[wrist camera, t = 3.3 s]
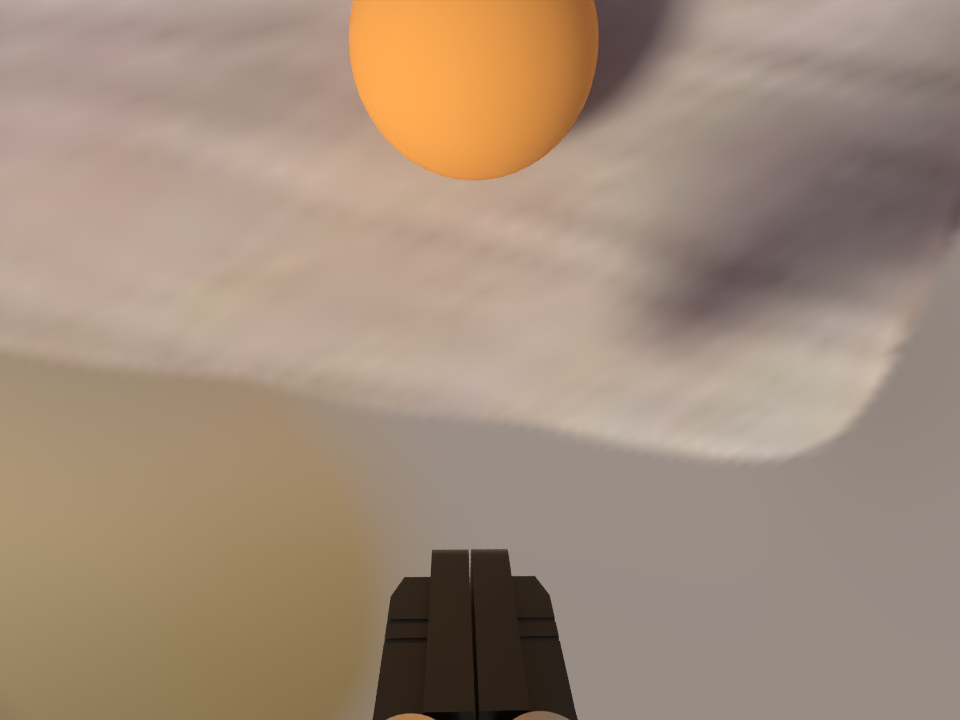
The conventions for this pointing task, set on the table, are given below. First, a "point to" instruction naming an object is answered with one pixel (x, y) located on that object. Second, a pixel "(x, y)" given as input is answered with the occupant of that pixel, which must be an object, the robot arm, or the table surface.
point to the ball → (474, 78)
